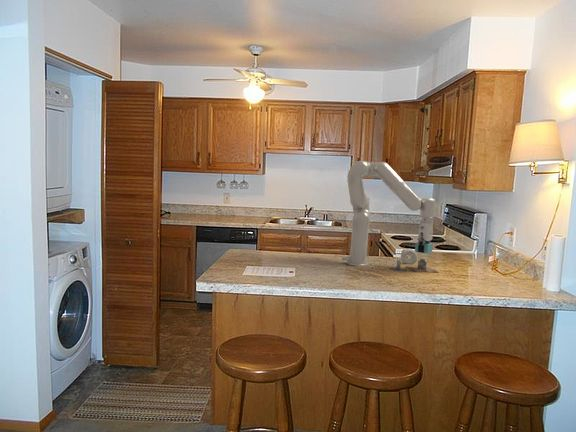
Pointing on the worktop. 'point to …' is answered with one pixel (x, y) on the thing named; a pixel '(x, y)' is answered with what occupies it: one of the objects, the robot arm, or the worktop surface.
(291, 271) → the worktop surface
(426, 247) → the collar
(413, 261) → the donut
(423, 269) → the hub board
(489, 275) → the worktop surface
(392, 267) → the stand
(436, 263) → the worktop surface
